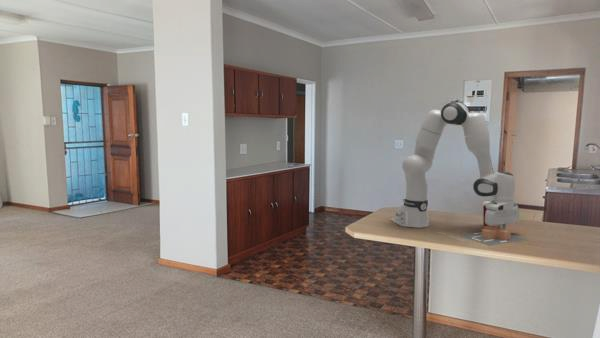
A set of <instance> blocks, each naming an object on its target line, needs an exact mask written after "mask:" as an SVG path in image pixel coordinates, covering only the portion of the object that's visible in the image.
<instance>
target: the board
mask: <svg viewBox="0 0 600 338" xmlns="http://www.w3.org/2000/svg"><path fill="white" fill-rule="evenodd" d="M481 234H482V231H480V232H479V231H478V232H472V233H466V234H460V235H459V234H458V236H459V237H461V238H465V239H468V240H471V241H473V242H477V243H480V244H483V245H486V246H495V245H501V244H507V243H513V242H517V241H518V242H519V241H524V240H526V238H525V237H520V236H518V235H514V234H511V236H510V240H501V239H498V238H496V239H490V240H487V239H484V238H481Z"/></svg>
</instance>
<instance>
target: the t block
mask: <svg viewBox="0 0 600 338" xmlns="http://www.w3.org/2000/svg"><path fill="white" fill-rule="evenodd" d="M481 232H482V234H481V238H484V239H487V240H490V239H496V238H498V239H501V240H510V236H511V235H512V234H511V233H512V231H511V230H508V229H501V228H498V227H497V226H495V227H494V226H490V225H488V226H484V225H483V229H481Z"/></svg>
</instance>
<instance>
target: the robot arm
mask: <svg viewBox="0 0 600 338" xmlns="http://www.w3.org/2000/svg"><path fill="white" fill-rule="evenodd" d="M447 125H454V126H461V127H462V130H463V133H464V134H463V135H464V141H465V144H466V147H467V150H468V151H469V152H470V153H472V154H473V155H474V156H475V158H476V161H477V165H478V169H479V178H477V179H476V180H475V181H474V183H473V186H472V188H473V192H474V193H475V194H476V195H477V196H479V197H483V198H486V197H493V200H491V201H489V202H490V203H488V204H486V209H487V210H486V213H485V223H486V224H487V225H490V226H494V225H496V227H497V228H501V229H505V230H507V227H508V224H512V223H517V222H519V221H520V210H519V209H520V208H519V205H518V204H517V203H515V197H514V193H515V188H516V183H515V182H516V181H515V180H516V179H515V176H514V174H513V173H510V172H509V171H503V170H497V171H496V172H494V168H493V165H492V164H493V163H492V158H491V152H490V151H491V150H490V147H491V146H490V143H491V142H490V141H491V140H490V134H489V133H490V132H489V127H488V124H487V121H486V119H485V116H484V115H483V113H480V112H470V109H469V107H468V106H467V105H466V104H464V103H462V102H457V101H454V102H449V103H447V104H445V105H444V106H443V107H442V108H441V110H440V109H432V110H430V111H429V112H428V113H427V115H426V116H425V118H424V120H423V122H422V124H421V126H420V129H419V132H418V134H417V137H416V139H415V148H414V151H413V154H411V155H409V156H407V157H406V158H405V159H404V160H403V161H402V165H401V166H402V169H403V172H404V178H405V185H406V190H405V198H404V199H402V201H403V205H400V207H399V208H397V209H396V210H395V212H394V213H395V214H394V217H392V218H390V221H391V222H393V223H395V224H397V225H398V226H400V227H405V228H407V227H408V228H420V229H421V228H428V227H429V226H430V220H429V209H428V206H429V201H428V184H427V179H426V178H427V177H426V173H427V172H428V171H430V169H431V168H432V167H433V161H434V159H435V158H434V157H435V155H436V149H437V146H438V144H439V141H440V138H441V136H442V134H443V133H444V132H443V131H444V129H445V127H446V126H447Z"/></svg>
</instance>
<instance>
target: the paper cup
mask: <svg viewBox="0 0 600 338" xmlns="http://www.w3.org/2000/svg"><path fill="white" fill-rule="evenodd" d="M490 202H491V201H487V200H486V201H483V203H482V205H483V208H482V209H483V213H482V214H483V217H482V218H483V219H482V220H483V221H482V222H483V227H484V226H488V225H487V224H486V223H485V213H486V210H487V209H486V204H488V203H490ZM494 227H497V225H494Z"/></svg>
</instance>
